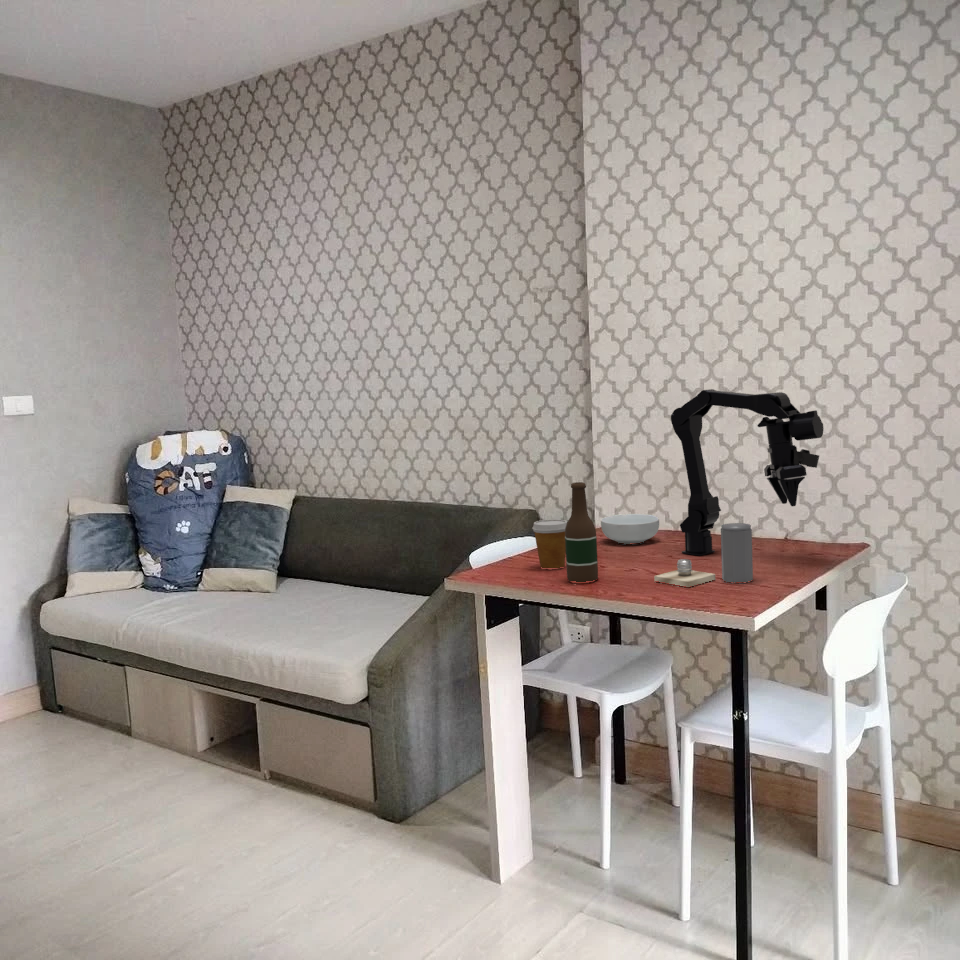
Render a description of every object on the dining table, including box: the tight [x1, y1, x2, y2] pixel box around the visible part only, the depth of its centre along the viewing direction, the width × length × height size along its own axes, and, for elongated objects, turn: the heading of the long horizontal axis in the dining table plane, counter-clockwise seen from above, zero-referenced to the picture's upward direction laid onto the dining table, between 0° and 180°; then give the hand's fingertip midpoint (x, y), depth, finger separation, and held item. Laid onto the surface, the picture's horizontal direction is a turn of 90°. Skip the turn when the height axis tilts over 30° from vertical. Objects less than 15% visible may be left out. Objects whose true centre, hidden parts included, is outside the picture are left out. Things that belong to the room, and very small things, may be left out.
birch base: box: [653, 569, 716, 587], centre depth 224 cm, size 10×10×2 cm
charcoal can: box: [720, 522, 754, 584], centre depth 221 cm, size 7×7×13 cm
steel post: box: [676, 558, 693, 576], centre depth 224 cm, size 3×3×4 cm
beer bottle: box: [565, 481, 599, 582], centre depth 229 cm, size 8×8×24 cm
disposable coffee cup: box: [532, 519, 568, 568], centre depth 247 cm, size 10×10×12 cm
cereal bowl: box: [600, 513, 660, 545], centre depth 276 cm, size 17×17×7 cm
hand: (789, 504), depth 236 cm, fingers open, 9 cm apart
